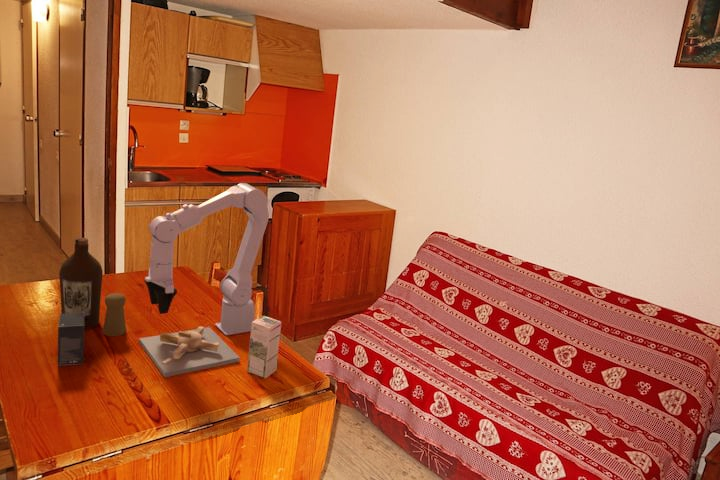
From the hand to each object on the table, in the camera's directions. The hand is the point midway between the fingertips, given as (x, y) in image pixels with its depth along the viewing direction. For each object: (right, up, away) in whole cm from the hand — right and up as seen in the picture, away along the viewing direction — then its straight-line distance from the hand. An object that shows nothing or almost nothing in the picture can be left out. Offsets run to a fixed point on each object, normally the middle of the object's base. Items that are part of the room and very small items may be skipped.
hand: (159, 308), depth 146 cm
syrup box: (+29, -16, -6) cm, 34 cm away
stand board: (+9, -12, -2) cm, 15 cm away
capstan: (+9, -10, -2) cm, 14 cm away
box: (-17, -11, -13) cm, 24 cm away
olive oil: (-24, -5, +5) cm, 25 cm away
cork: (-14, -7, +3) cm, 16 cm away
